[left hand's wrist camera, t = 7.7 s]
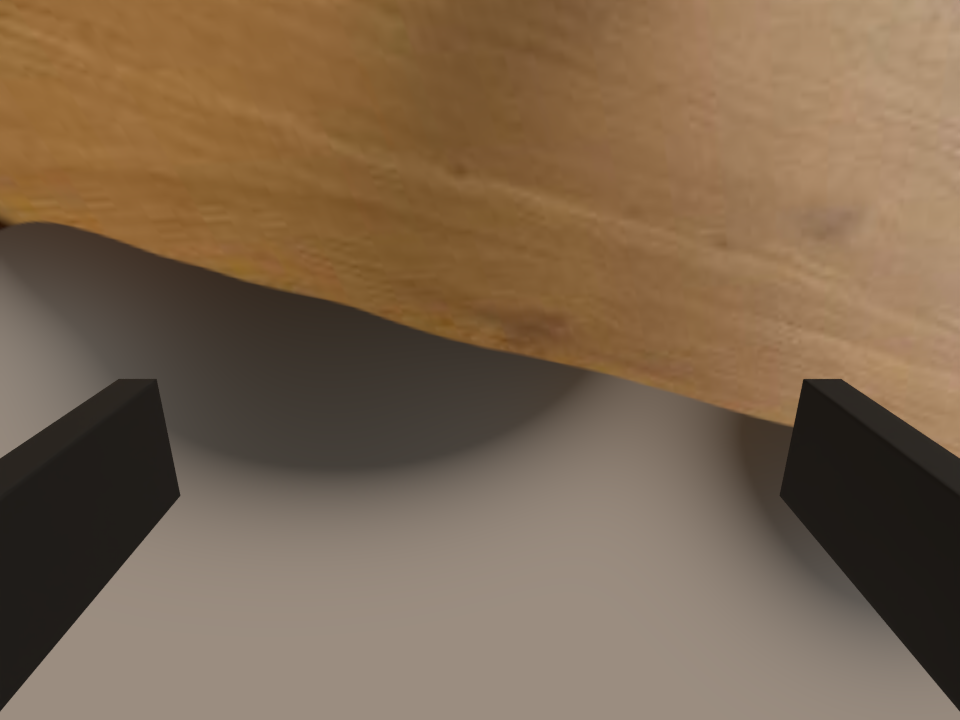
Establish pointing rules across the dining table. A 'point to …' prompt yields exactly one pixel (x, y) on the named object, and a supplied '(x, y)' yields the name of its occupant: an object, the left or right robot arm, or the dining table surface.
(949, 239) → the dining table surface
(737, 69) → the dining table surface
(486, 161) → the dining table surface
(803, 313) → the dining table surface
